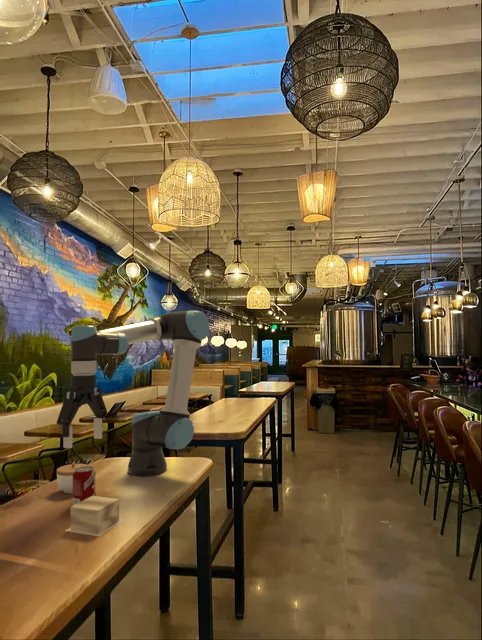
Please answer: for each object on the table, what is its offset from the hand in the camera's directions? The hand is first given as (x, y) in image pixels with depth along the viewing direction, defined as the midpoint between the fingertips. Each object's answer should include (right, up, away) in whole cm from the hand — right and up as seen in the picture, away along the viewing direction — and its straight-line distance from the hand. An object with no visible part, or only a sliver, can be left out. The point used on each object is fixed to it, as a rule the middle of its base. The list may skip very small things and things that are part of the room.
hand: (83, 442), depth 138 cm
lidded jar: (-9, -21, +16) cm, 28 cm away
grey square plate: (+8, -19, -15) cm, 26 cm away
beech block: (+9, -18, -17) cm, 26 cm away
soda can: (+1, -20, -1) cm, 20 cm away
